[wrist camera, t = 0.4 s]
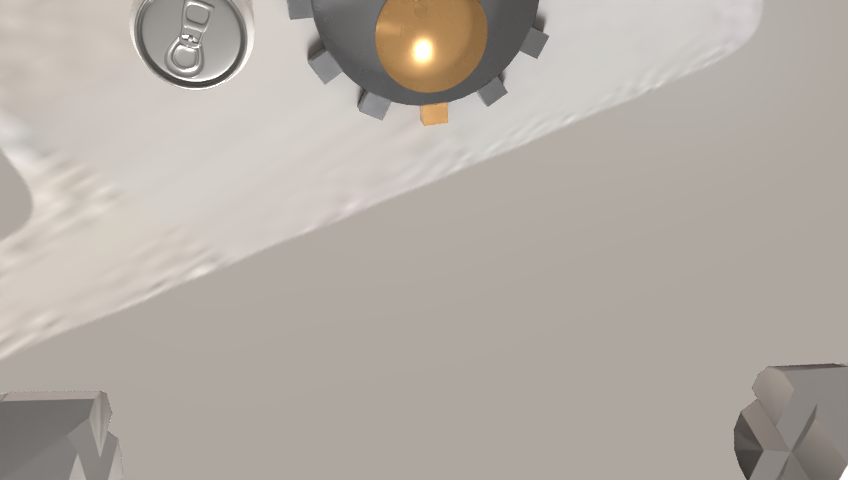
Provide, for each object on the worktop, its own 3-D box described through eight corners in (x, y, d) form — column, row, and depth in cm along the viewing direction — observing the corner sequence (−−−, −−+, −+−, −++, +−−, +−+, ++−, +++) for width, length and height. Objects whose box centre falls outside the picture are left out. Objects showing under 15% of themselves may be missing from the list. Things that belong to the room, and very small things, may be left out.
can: (137, 26, 49) (112, 75, 39) (161, -74, 47) (140, -50, 37) (236, 57, 52) (236, 113, 41) (263, -36, 49) (271, -3, 39)
